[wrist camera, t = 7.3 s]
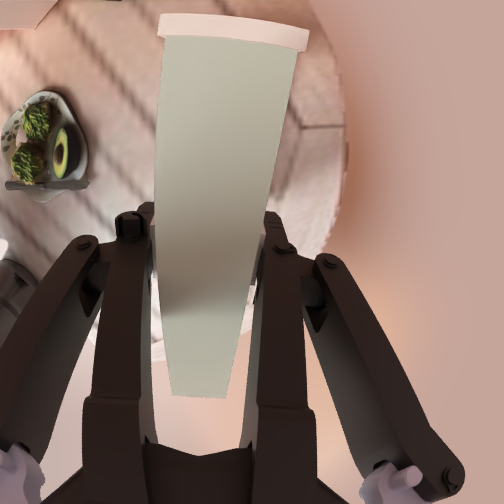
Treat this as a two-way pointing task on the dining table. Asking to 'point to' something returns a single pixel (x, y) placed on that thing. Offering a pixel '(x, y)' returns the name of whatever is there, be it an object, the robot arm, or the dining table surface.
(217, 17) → the cabinet base
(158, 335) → the dining table surface
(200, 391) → the door panel
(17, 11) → the milk
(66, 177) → the salad plate
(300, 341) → the robot arm
